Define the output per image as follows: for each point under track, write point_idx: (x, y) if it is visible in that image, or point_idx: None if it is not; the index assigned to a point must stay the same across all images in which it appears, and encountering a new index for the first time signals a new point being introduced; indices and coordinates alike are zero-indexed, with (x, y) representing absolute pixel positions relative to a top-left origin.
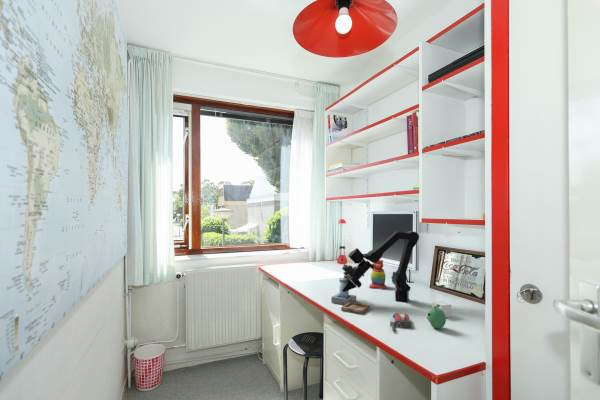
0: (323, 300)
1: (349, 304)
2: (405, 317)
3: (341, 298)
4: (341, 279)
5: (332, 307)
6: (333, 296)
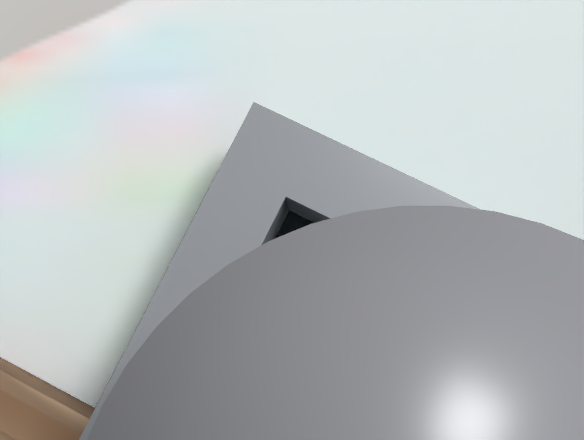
0: (362, 6)
1: (27, 434)
2: None
3: (171, 297)
4: (246, 371)
5: (14, 155)
6: (293, 138)
